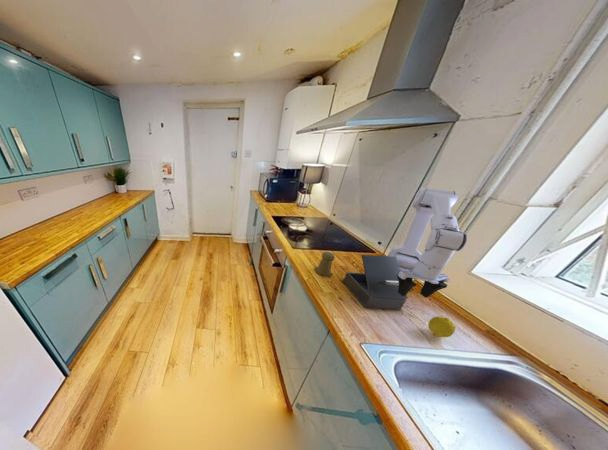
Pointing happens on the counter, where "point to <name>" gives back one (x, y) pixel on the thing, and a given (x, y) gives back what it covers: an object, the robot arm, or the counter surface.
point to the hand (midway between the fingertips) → (412, 294)
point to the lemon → (441, 326)
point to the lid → (382, 276)
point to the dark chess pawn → (325, 264)
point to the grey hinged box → (360, 290)
